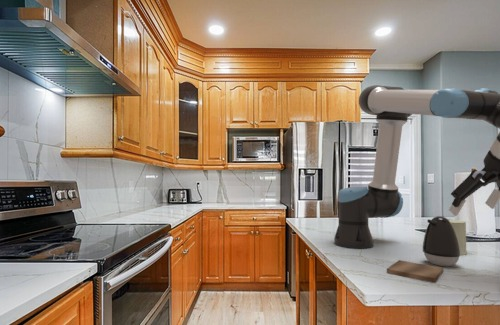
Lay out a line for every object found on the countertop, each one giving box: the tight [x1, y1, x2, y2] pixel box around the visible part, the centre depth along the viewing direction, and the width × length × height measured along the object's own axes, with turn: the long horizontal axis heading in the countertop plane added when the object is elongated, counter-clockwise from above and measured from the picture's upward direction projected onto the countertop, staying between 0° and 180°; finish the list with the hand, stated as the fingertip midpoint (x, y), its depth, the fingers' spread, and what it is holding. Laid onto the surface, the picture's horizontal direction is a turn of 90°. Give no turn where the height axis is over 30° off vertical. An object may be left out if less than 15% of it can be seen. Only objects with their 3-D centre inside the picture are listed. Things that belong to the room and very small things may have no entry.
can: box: [447, 218, 468, 256], centre depth 111 cm, size 9×9×12 cm
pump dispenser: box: [422, 215, 461, 267], centre depth 96 cm, size 10×10×15 cm
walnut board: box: [386, 259, 444, 284], centre depth 87 cm, size 12×12×1 cm
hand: (471, 209), depth 95 cm, fingers open, 13 cm apart
